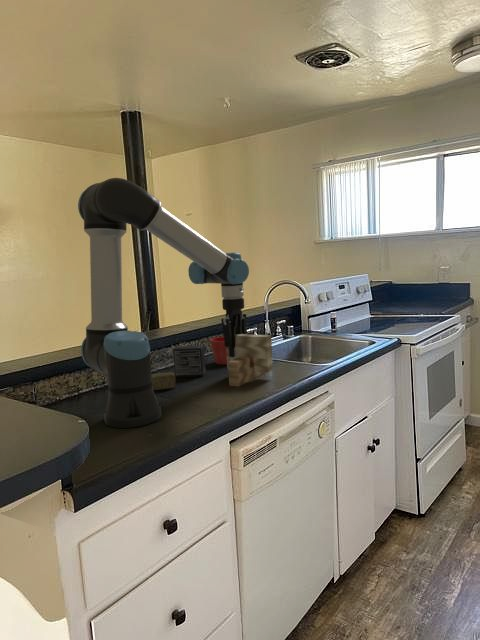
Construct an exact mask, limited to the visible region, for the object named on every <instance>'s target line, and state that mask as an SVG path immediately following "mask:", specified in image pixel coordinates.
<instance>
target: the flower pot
mask: <svg viewBox="0 0 480 640" xmlns="http://www.w3.org/2000/svg"><path fill="white" fill-rule="evenodd" d="M209 341H210V345H211V351H212V353H213V357H214V360H215V363H216V364H217V365H227V353H226V347H225V344H224V336H218V337H213V338H211V339H210V340H209Z"/></svg>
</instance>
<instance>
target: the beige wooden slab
mask: <svg viewBox="0 0 480 640" xmlns="http://www.w3.org/2000/svg"><path fill="white" fill-rule="evenodd" d="M235 347H237V358H238V357H249V358H254V371H257V372H265V373H270V372H271V371H273V370H274V367H273V366H274V365H273V345H272V335H271V334H249V333H248V334H247V333H246V334H236V338H235ZM226 353H227V364H226V366H227V367H226V368H227V369H228V362H229V361H230V356H229V348H228V347H226Z"/></svg>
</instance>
